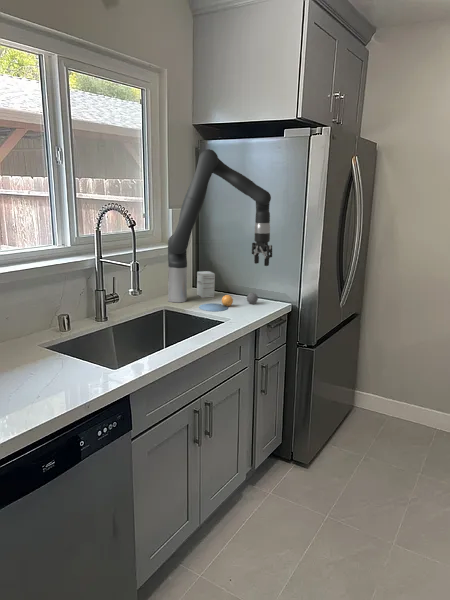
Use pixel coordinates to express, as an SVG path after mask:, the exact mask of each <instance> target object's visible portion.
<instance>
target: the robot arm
mask: <svg viewBox="0 0 450 600" xmlns="http://www.w3.org/2000/svg"><path fill="white" fill-rule="evenodd" d="M197 160H198V161H197V165H196V169H195V172H194V175H193V178H192V180H191V182H190V184H189V186H188V189H187V190H186V193H185V196H184V198H183V201H182V204H181V208H180V212H179V219H178V223H177V225H176V227H175V231H174V232H173V234H171V236H169V238H168V242H167V263H168V266H167V268H168V271H167V272H168V280H167V281H168V282H167V283H168V285H167V286H168V287H167V288H168V290H167V294H168V296H167V298H168V301H167V302H169V303H170V302H172V303H184V302H187V300H188V297H187V296H188V295H187V294H188V257H187V252H188V251H187V249H188V247H189V244H190V243H189V242H190V238H191V235H192V231H193V229H194V227H195V224H196V222H197V220H198V217H199V216H200V215H199V214H200V212H201V210H202V208H203V204H204V202H205V198H206V196H207V191H208V186H209V181H210V179H211V177H212V175H213V174H214V175H216V176H218V177H219V178H221V179H222V180H224V181H225V182H227V183H229V185H231V186H232V187H234V188H235V189H237V190H238V191H239V192H241V193H243V195H246V196H248V197H249V198H250V199H252V200H253V201H255V218H254V219H255V225H254V241H253V242H252V243H251V255H253V257H254V261H253V262H254V264H256V265H257V264H259V263H260V254H262V255H263V256H264V258H263V259H264V262H263V263H264V265H263V266H265V267H267V266H270V258H273V245H272V244H269V242H270V239H271V238H270V237H271V213H270V203H271V200H272V195H271V194H270V192H269V191H268V190H266V189H264V188H262V187H261V186H260V185H258V184H256V183H255V181H253V180H251V179H250V178H248V176H245V175H244V174H242V173H240V172H239V171H237V170H235V169H233V168H231V167H230V166H229V165H227V164H225V163H224V162H223V160H221V159H220V158H219V156H218V154H217V153H216V152H215V151H214V150H213V149H204V150H203V151H201V152H200V154H199V156H198V159H197Z"/></svg>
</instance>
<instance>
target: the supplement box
mask: <svg viewBox="0 0 450 600" xmlns="http://www.w3.org/2000/svg"><path fill="white" fill-rule="evenodd" d="M196 277H197V278H196V295H197V296H199V297H200V298H202V299H204V298H205V299H206V298H214V297H215V288H216V287H215V284H216V282H215V281H216V280H215V279H216V278H215V277H216V274H215V273H214V272H213V271H209V270H207V271H206V270H205V271H204V270H202V271H197V272H196Z"/></svg>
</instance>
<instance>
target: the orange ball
mask: <svg viewBox="0 0 450 600" xmlns="http://www.w3.org/2000/svg"><path fill="white" fill-rule="evenodd" d="M233 301H234V298H233V296H231V295H229V294H226V295H223V296H222V298H221V304H222V305H224V306H227V307H230V306H232V305H233V303H234V302H233Z"/></svg>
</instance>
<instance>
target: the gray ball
mask: <svg viewBox="0 0 450 600" xmlns="http://www.w3.org/2000/svg"><path fill="white" fill-rule="evenodd" d="M258 298H259V297H258V294H256V293H255V292H249V293H248V294H247V296H246V301H247V302H248V303H249V304H251V305H253V304H256V303H257V302H258Z"/></svg>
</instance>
